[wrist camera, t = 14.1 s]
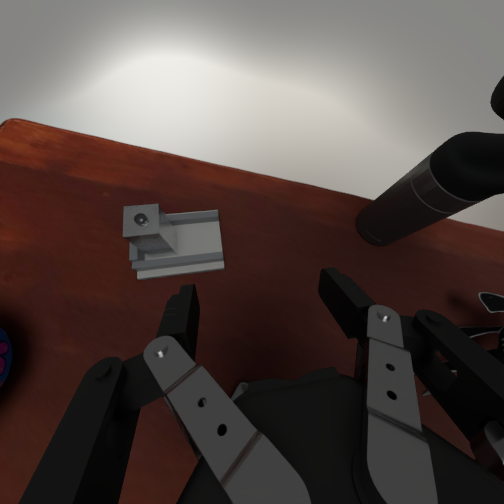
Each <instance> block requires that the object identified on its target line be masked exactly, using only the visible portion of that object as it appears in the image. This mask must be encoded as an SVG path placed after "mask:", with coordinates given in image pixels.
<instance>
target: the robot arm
mask: <svg viewBox="0 0 504 504" xmlns="http://www.w3.org/2000/svg"><path fill="white" fill-rule="evenodd" d="M490 103H491V107H492V109H493V111H494V112H495V113H496V114H497V115H498V116H499V117H501V118H502V119H503V120H504V76H503V77H502V79H501V80H500V81H499V83H498V84H497V86H496V87H495V90H494V92H493V93H492V96H491V102H490ZM503 193H504V134H494V133H483V132H464V133H460V134H457V135H455V136H453V137H451V138H450V139H448V140H447V141H446V142H444V143H443V144H442V145H441V146H440V147H438V148H437V149H436V150H435V151H434V152H433V153H431V154H430V155H429V156H428V157H426V158H425V159H424V160H423V161H421V162H420V163H419V164H418V165H417V166H416V167H414V168H413V169H412V170H411V171H409V173H407V174H406V175H405V176H403V177H402V178H401V179H400V180H399V181H397V182H396V183H395V184H394V185H392V186H391V187H390V188H389V189H388V190H386V191H385V192H384V193H383V194H382V195H380V196H379V197H378V198H377V199H375V200H374V201H373V202H372V203H370V204H369V205H368V206H367V207H366V208H364V209H363V210H362V211H361V212H360V213H359V214H358V216H357V220H356V224H357V228H358V231H359V233H360V234H361V236H362V237H363V238H364V239H365V240H366V241H368V242H369V243H371V244H374V245H377V246H385V245H388V244H391V243H393V242H395V241H397V240H399V239H402V238H404V237H406V236H408V235H410V234H413V233H415V232H417V231H419V230H421V229H423V228H425V227H428V226H430V225H432V224H434V223H436V222H438V221H440V220H443V219H445V218H447V217H449V216H451V215H453V214H455V213H458V212H460V211H462V210H464V209H466V208H468V207H470V206H472V205H474V204H477V203H479V202H481V201H483V200H485V199H487V198H489V197H492V196H494V195H497V194H503ZM318 292H319V295H320V297H321V299H322V301H323V302H324V303H325V305H326V306H327V308H328V309H329V311H330V312H331V314H332V315H333V317H334V318H335V320H336V321H337V323H338V324H339V326H340V327H341V329H342V330H343V332H344V333H345V335H346V336H347V338H348V339H351V338H357V339H358V344H357V352H356V362H355V372H354V378H352V377H349V376H346V375H342V374H338V372H337V370H336V368H335V367H330V368H325V369H319V370H314V371H312V372H310V373H308V374H306V375H304V376H302V377H300V378H299V379H297V380H283V379H272V378H269V379H264V380H258V381H253V382H248V389H249V390H247V391H245V392H243V393H242V394H241V395H239V396H238V397H237V398H236V399H235V400H234V401H233V402H232V400H231V399H230V398H229V397H228V396H227V395H226V393H225V392H224V391H223V390H222V389H221V387H220V386H219V385H218V384H217V383H216V382H215V380H214V379H213V378H212V377H211V376H210V375H209V373H208V372H207V371H206V370H205V369H204V368H203V367H202V366H201V365H200V364H199V365H196V364H195V354H196V345H197V335H198V325H199V316H200V306H199V300H198V296H197V291H196V287H195V284H190V285H182V286H181V289H180V293H179V294H178V295H173V296H172V297H171V298H170V299H169V300H168V302H167V304H166V308H165V311H164V314H163V317H162V320H161V323H160V327H159V330H158V333H157V336H156V339H155V340H153V341H152V342H151V343H149V345H148V346H147V347H146V349H145V351H144V352H143V353H141V354H139V355H137V356H135V357H132V358H130V359H128V360H125V361H123V362H122V361H121V359H120V358H118V357H108V358H105V359H103V360H101V361H99V362H97V363H96V364H95V365H93V366H92V367H91V368H90V369H89V370H88V371H87V372H86V374H85V375H84V377H83V379H82V381H81V383H80V385H79V387H78V389H77V391H76V393H75V395H74V397H73V398H72V400H71V402H70V404H69V406H68V408H67V410H66V412H65V414H64V416H63V418H62V420H61V422H60V424H59V426H58V428H57V430H56V432H55V434H54V435H53V437H52V439H51V441H50V443H49V445H48V447H47V449H46V451H45V453H44V455H43V457H42V459H41V461H40V463H39V465H38V467H37V469H36V471H35V472H34V474H33V476H32V478H31V480H30V482H29V484H28V486H27V488H26V490H25V492H24V494H23V496H22V498H21V500H20V502H19V504H118V502H119V498H120V494H121V489H122V485H123V481H124V477H125V472H126V468H127V464H128V460H129V456H130V451H131V447H132V443H133V439H134V434H135V430H136V426H137V422H138V417H139V413H140V409H141V407H142V406H144V405H146V404H148V403H150V402H152V401H154V400H156V399H158V398H160V397H163V399H164V401H165V402H166V404H167V406H168V408H169V409H170V411H171V413H172V415H173V416H174V418H175V420H176V421H177V423H178V425H179V427H180V429H181V430H182V432H183V434H184V436H185V438H186V440H187V442H188V443H189V445H190V447H191V449H192V450H193V452H194V454H195V456H196V457H197V459H198V461H199V462H198V463H197V465H196V467H195V469H194V471H193V473H192V475H191V477H190V478H189V480H188V482H187V484H186V486H185V488H184V490H183V492H182V493H181V495H180V497H179V499H178V501H177V503H176V504H504V365H503V364H502V363H501V362H500V361H498V360H497V359H496V358H495V357H494V356H492V355H491V354H490V353H489V352H487V351H486V350H485V349H484V348H482V347H481V346H480V345H479V344H478V343H476V342H475V341H474V340H473V339H471V338H470V337H469V336H468V335H466V334H465V333H464V332H463V331H462V330H460V329H459V328H458V327H457V326H455V325H454V324H453V323H452V322H451V321H449V320H448V319H447V318H445V317H444V316H442V315H441V314H439V313H436V312H434V311H430V310H419V311H417V313H416V315H415V317H410V316H400V315H398V314H397V313H396V312H395V311H394V310H392V309H390V308H388V307H386V306H382V305H377V304H376V303H375V302H374V301H373V300H372V299H371V298H370V297H369V296H368V295H367V294H366V293H365V292H364V291H363V290H362V289H361V288H360V287H359V286H358V285H356V283H355V282H354V281H353V280H352V279H351V278H349V277H347V276H346V275H344V274H340V273H339V272H338V271H337V269H336V268H326V269H322V270H321V273H320V280H319V286H318ZM438 351H439V352H440V353H441V354H442V355H443V356H444V357H445V358H446V359H447V360H448V361H449V362H450V363H451V364H452V365H453V366H454V368H455V369H456V371H457V377H456V376H455V375H454V373H453V372H452V371H451V370H450V369H449V368H448V367H447V366H446V365H445V364H444V363H443V362H442V361H441V360H440V359H439V358H438V357H437V356H436V354H437V353H438ZM413 372H414V373H415V374H416V375H417V377H418V378H419V379H420V380H421V382H422V383H423V384H424V385H425V387H426V388H427V389H428V390H429V392H430V393H431V394H432V395H433V397H434V398H435V399H436V400H437V402H438V403H439V404H440V405H441V407H442V408H443V409H444V410H445V412H446V413H447V414H448V415H449V417H450V418H451V419H452V420H453V422H454V423H455V424H456V425H457V427H458V428H459V429H460V430H461V432H462V433H463V434H464V435H465V437H466V438H467V439H468V440H469V442H470V447H471V450H472V452H473V454H474V456H475V458H476V459H475V460H474V459H472V458H471V457H469V456H468V455H466V454H465V453H463V452H462V451H461V450H459V449H458V448H456V447H455V446H453V445H452V444H451V443H449V442H448V441H446V440H445V439H443V438H442V437H440V436H439V435H438V434H436V433H435V432H433V431H432V430H430V429H429V428H428V427H426V426H425V425H423V424H422V423H421V422H420V415H419V408H418V401H417V395H416V388H415V381H414V375H413Z"/></svg>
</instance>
